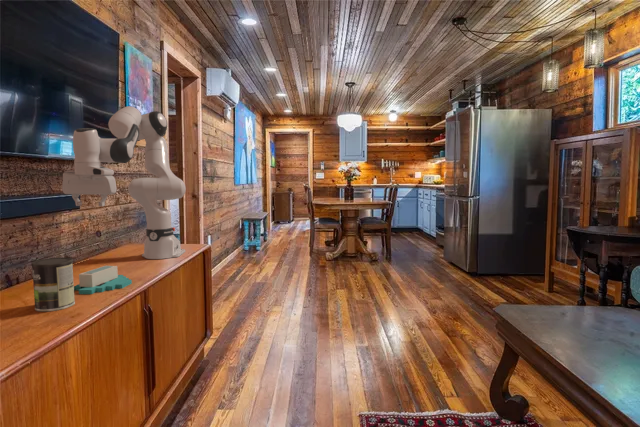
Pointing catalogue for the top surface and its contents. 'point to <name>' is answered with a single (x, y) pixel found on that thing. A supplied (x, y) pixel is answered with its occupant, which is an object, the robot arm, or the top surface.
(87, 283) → the beige rectangular block
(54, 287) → the coffee can
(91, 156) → the robot arm
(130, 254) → the top surface
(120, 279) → the alien figure
